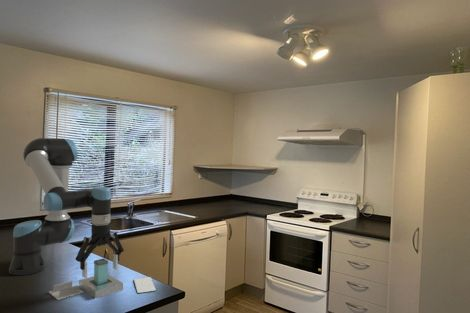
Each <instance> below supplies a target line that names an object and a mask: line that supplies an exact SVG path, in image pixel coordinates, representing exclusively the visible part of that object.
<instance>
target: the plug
mask: <svg viewBox="0 0 470 313" xmlns="http://www.w3.org/2000/svg"><path fill="white" fill-rule="evenodd" d="M108 264H109V261H108V260H107V259H105V258H101V259H100V258H99V259H96V260H93V266H94V267H93V276H94V283H95V284H97V285H98V284H102V283H105V282H107V275H109V274H108V273H109V272H108V270H109V269H108Z"/></svg>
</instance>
